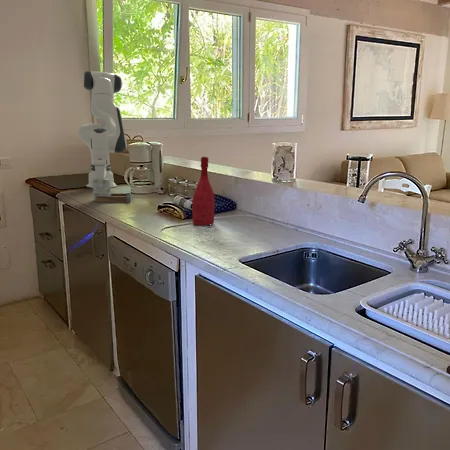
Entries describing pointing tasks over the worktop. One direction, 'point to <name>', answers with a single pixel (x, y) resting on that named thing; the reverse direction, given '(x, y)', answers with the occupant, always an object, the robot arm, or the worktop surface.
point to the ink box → (101, 188)
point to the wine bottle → (203, 198)
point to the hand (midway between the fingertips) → (101, 185)
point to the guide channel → (115, 197)
